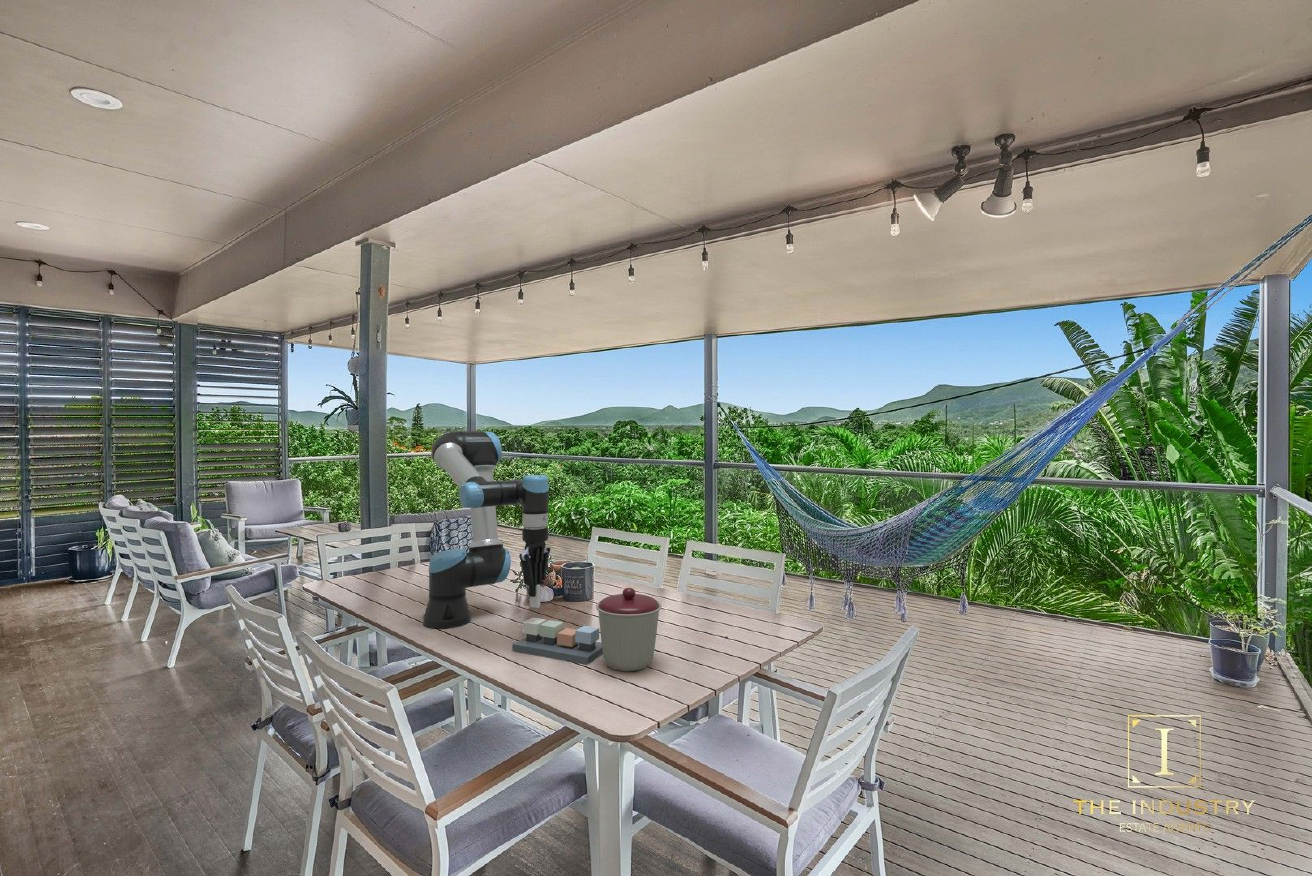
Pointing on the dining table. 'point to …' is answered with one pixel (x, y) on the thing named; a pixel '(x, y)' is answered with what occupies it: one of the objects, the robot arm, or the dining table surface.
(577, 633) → the key blue
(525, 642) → the keypad board
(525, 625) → the key ivory
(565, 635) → the key terracotta
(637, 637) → the canister
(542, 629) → the key sage
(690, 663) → the dining table surface
